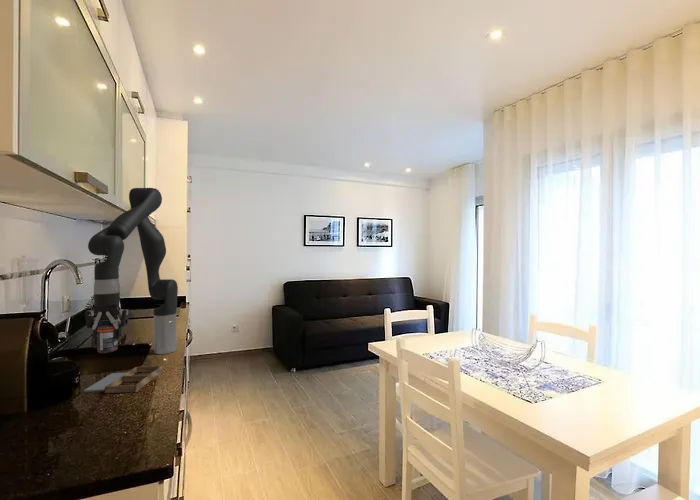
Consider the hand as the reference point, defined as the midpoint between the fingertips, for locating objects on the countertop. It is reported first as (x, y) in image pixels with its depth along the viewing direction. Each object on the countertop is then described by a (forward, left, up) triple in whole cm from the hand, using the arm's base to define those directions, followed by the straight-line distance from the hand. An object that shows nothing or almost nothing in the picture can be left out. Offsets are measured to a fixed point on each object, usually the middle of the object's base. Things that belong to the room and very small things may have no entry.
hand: (107, 339), depth 123 cm
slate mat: (0, 0, -15) cm, 15 cm away
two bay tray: (0, +10, -15) cm, 18 cm away
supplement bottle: (0, 0, -4) cm, 4 cm away
